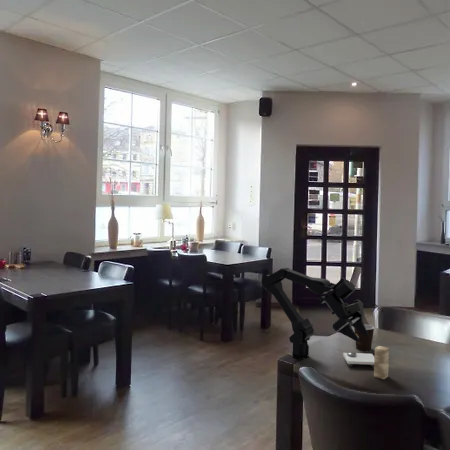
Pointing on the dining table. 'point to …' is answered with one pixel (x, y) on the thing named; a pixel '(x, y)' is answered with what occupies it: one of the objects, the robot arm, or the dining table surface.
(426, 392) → the dining table surface
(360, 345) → the coffee mug
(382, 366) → the beech post
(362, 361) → the white square board
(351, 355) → the silver metal dome
